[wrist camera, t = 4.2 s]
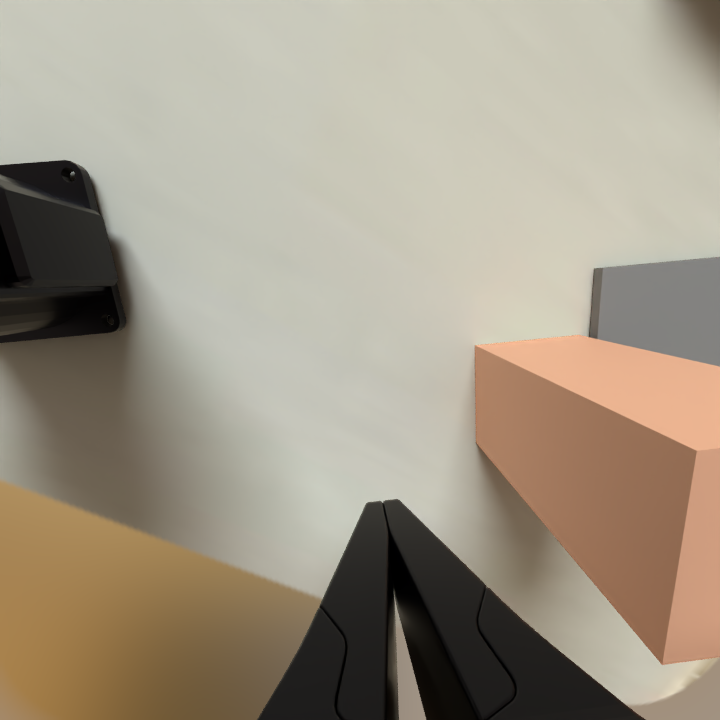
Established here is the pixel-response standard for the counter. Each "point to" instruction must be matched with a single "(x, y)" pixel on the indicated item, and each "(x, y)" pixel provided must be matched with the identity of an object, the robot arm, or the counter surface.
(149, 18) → the counter surface
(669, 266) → the gray square plate
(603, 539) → the terracotta block
